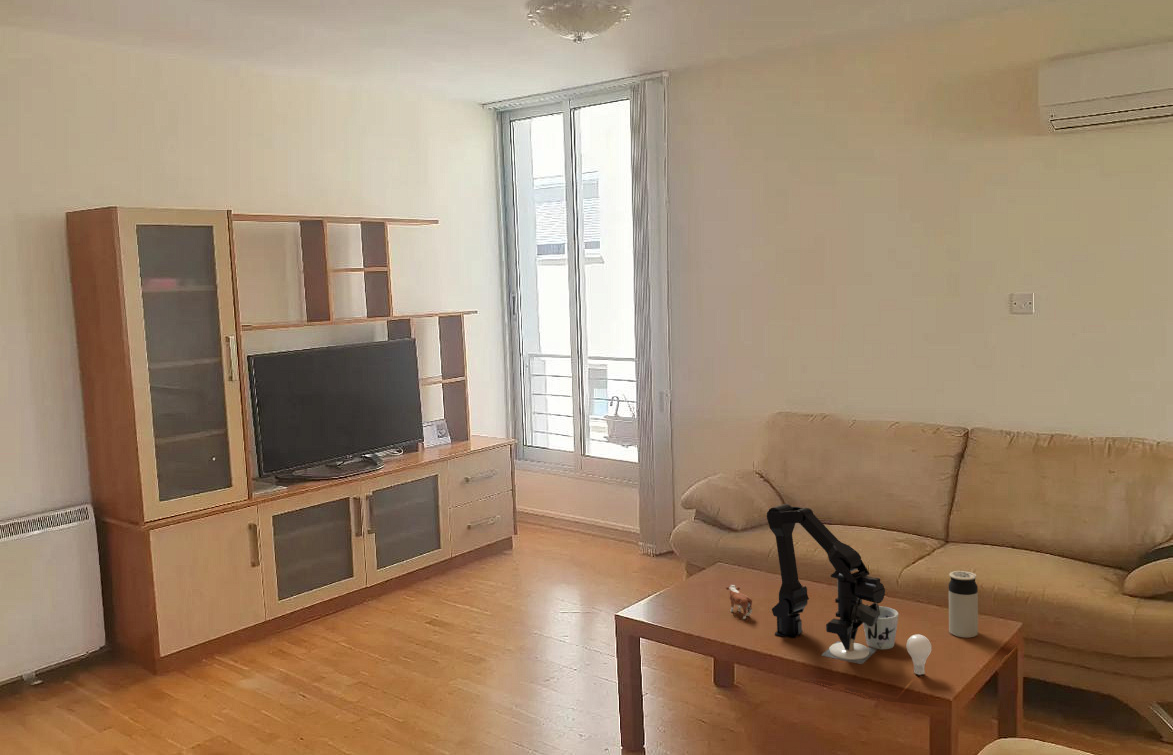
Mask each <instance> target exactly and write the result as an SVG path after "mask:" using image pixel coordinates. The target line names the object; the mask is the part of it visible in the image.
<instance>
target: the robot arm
mask: <svg viewBox="0 0 1173 755" xmlns="http://www.w3.org/2000/svg"><path fill="white" fill-rule="evenodd" d="M766 520H767V523H768V527H769V529H770V531H771V532H772V533H773V534H774V536H775V541H776V549H777V555H778V563H779V569H780V577H781V586H780V588H779V592H778V602H777V604H775V605H774V607H772V608H771V612H772V615H773V617H776V632H774V635H775V636H779V637H784V638H791V639H796V638H797V637H799V635H800V634H802V633H803V632H804V631H803V627H802V625H803V624H802V619H801V613H803V612H804V610H805V608H806V606H807V605H808V600H810V598H809V596H808V588H807V586H806V585H805V586H803V584H801V582H800V581H799V574H798V573H799V572H798V567H797V562H796V561H797V560H796V554H795V545H794V539H793V533H794V532H793V531H794V529H795V526H796V524H799V525H801V527H802V528H803V529H804V530H805V531H806V532H807V533H808V534H809V535H810V537H811V538H812V539H813V540H814V541H815V542H816V543H817V544H818V545H819V546H820V547H821V548H822V549H823V550H824V551H825V552H826V554H827V558H828V560H829V563H830V565H832V567H833V568H834V569H835V571H833V573H831V574H830V578H832V579H836V581H837V597H836V598H835V599H834V602H835V603H836V604H837V611H836V612H835V617H837V618H832V619H831V620H830V621H828V622H827V623H826V624H825V630H826V633H831V634H835V635H837V636H838V638H839V639H840V642H842V644H843V646H844V648H845V649H846V650H849V648H850V642H851V638H853V639H854V642H855V641H856V636H857V633H858V630H859V627H860V626H863V623H866V624H867V625H868V626H871V627H872V626H873V625H874V624H875V623H876V622H877V620H878V617H879V616H880V611H879V606H880V605H879V604H881V603H882V601H884V598H885V594H886V588H885V586H884V584H883V583H882V582H881V578H880V577H872V576H870V572H869V570H868V568H867V567H866V565H865V563H864V562H863V560H862V556H861V555H860V553H859V552H858V551H857V550H855V549H854V548H853V547H852V546H850V545H848V544H846V543H843V542H841V541H840V540H839V539H838V538H837V537H836V536H835V534H834V533H832V532H831V530H829V529H828V527H826V525H824V524H823V522H822V521H821V520H820V519H819V518H818V517H817V516H816V515H815V514H814V511H813V510H812V509H811V508H809V507H801V506H791V505H790V504H788V503H784V504H780V505H776V506H773V507H771V508H769V509H768V511H767V512H766ZM856 570H857V571H856ZM854 571H855V572H854ZM863 601H867V602H870V603H871V604H868V603H866V604H864V603H863Z"/></svg>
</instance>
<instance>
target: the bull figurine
mask: <svg viewBox="0 0 1173 755" xmlns="http://www.w3.org/2000/svg"><path fill="white" fill-rule="evenodd" d="M725 589H726V590H727V591H729V600H730V604H731V605H730V610H729V612H730V613H733V612H734V606H737V607H738V610H737V612H738V613H741V612H743V617H742V620H746V618H747V617H749V616H750V615H752V612H753V608H752V605H753V600H752V598H751V597H749V596H748V595H746V594H744V593H742V592H741V591H739V590H741V587H736V585H735V584H730V585H729V586H726V587H725Z"/></svg>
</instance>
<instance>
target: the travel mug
mask: <svg viewBox="0 0 1173 755" xmlns="http://www.w3.org/2000/svg"><path fill="white" fill-rule="evenodd" d="M949 577H950V581H949V583H948V632H949V633H950V634H951V635H953V636H954V637H958V638H965V639H969V638H974V637H976V636H978V635H979V620H978V618H979V608H978V607H979V605H978V604H979V603H978V602H979V601H978V600H979V598H978V597H979V595H978V594H979V592H978V589H979V588H978V585H977V584H978V583H977V582H976V580H977V574H976V573H975V572H972V571H966V570H955V571H951V572H950V573H949Z"/></svg>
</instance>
